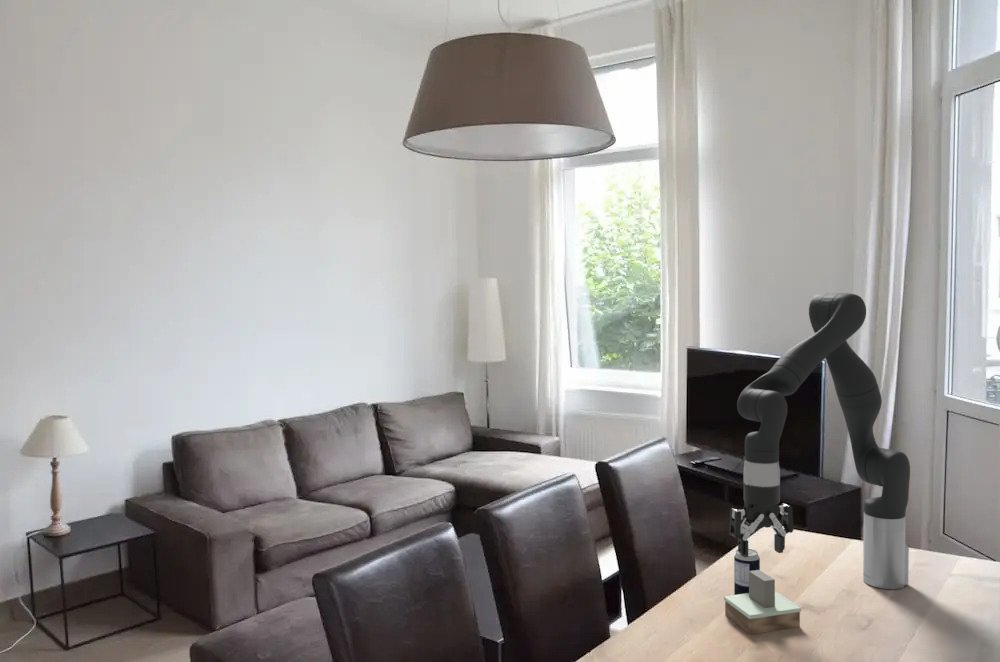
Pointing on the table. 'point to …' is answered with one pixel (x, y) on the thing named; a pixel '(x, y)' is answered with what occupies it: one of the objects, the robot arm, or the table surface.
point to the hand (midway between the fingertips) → (761, 554)
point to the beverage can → (744, 570)
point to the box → (762, 621)
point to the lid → (761, 598)
